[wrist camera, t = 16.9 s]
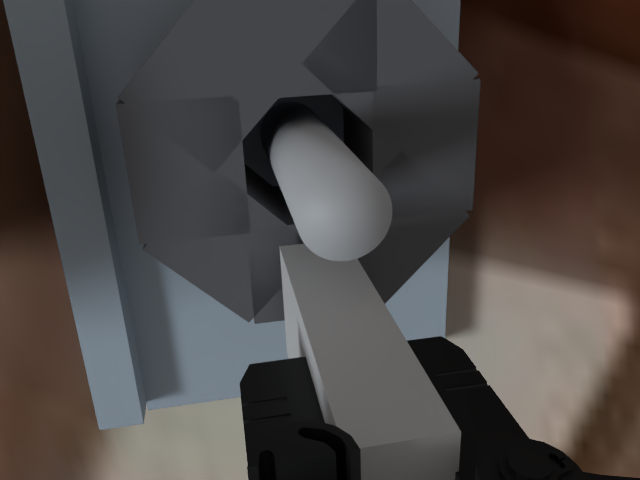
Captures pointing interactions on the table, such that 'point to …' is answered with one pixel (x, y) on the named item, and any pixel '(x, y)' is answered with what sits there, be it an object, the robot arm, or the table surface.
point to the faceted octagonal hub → (252, 104)
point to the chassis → (119, 222)
